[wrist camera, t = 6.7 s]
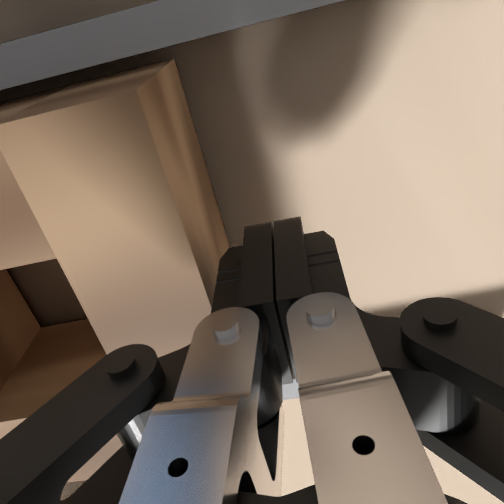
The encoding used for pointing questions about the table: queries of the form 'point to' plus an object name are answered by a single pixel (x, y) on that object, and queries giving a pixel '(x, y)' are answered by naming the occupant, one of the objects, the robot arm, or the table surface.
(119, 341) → the socket block
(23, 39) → the backstop
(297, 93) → the table surface
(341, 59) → the table surface
